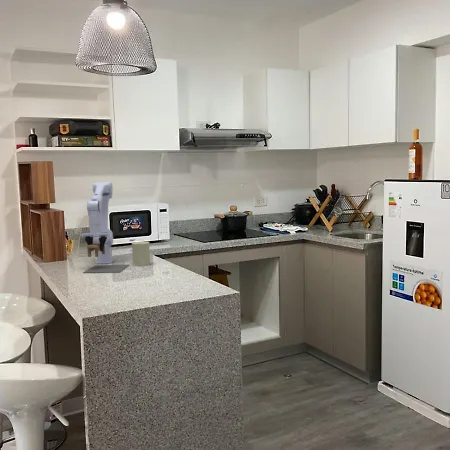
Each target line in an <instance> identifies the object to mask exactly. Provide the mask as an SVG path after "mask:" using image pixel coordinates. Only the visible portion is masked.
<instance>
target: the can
mask: <svg viewBox="0 0 450 450" xmlns="http://www.w3.org/2000/svg"><path fill="white" fill-rule="evenodd" d="M131 249H132V251H131V252H132V266H133V267H134V266H135V267H145V266H150V265H151V258H150V257H151V256H150V251H151V250H150V241H135V242H131Z"/></svg>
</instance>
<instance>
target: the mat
mask: <svg viewBox="0 0 450 450" xmlns="http://www.w3.org/2000/svg"><path fill="white" fill-rule="evenodd" d="M129 266H130V264H100V265H99V264H96V265H93V266H91V267H90V268H88V269H86V270H85V271H83V272H82V273H83V274H96V273H97V274H103V273H104V274H112V273H115V274H116V273H117V274H118V273H121V272H122V271H124V270H126V268H128V267H129Z"/></svg>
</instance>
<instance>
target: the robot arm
mask: <svg viewBox="0 0 450 450" xmlns="http://www.w3.org/2000/svg"><path fill="white" fill-rule="evenodd" d="M113 190H114V189H113V183H112V182H111V181H97V182H96V181H94V182H93V183H92V192H93V194H92V195H91V197H90V200H88V201H87V203H86V210H87V215H88V216H87V217H88V221H89V222H88V224H89V232H83V233H81V238H84V241H85V242H86V244H87V246H88V245H91V244H94V243H100V251H98V257H96V258H97V261H96V262H95V264H96V265H99V264H100V265H105V264H112V262H114V261H115V259H113V248H111V247H112V246H113V244H114V232H113V231H112V230H111V229H110V228H109V226H108V225H109V201H110V199H112V198H113ZM104 244H105V254H102V251H103V249H104ZM91 252H94V250H92V251H91Z"/></svg>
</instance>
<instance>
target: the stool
mask: <svg viewBox="0 0 450 450" xmlns="http://www.w3.org/2000/svg"><path fill="white" fill-rule="evenodd" d="M86 248H87V257H88V258H91V257H92V252H93V251H94V257H95V258H97V257H98V251H100V243H93V244H91V245H88V244H87V246H86ZM92 250H93V251H92ZM102 254H105V244H104V249H103V251H102Z"/></svg>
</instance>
